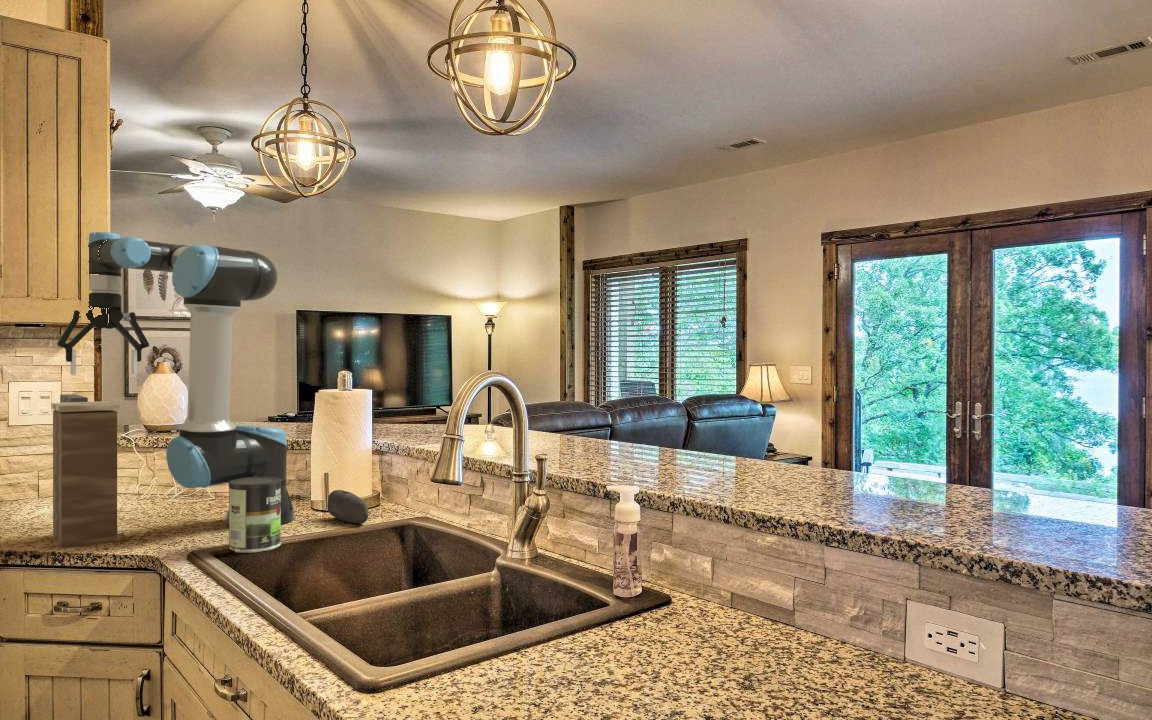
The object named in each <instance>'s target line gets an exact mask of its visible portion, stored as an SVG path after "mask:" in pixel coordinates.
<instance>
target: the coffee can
mask: <svg viewBox="0 0 1152 720" xmlns="http://www.w3.org/2000/svg"><path fill="white" fill-rule="evenodd" d="M227 485H228V496H229V497H228V509H229V525H228V546H229V547H231V548H234V549H235V552H234V553H240V554H242V553H243V554H245V553H246V554H247V553H248V554H250V553H262V552H269V551H271V550H275V549H277V548H279V547H280V546H281V545H282V541H281V538H282V537H281V535H282V534H281V532H282V531H281V525H282V524H281V479H280V478H277V477H248V478H240V479H235V480H231V481H229V482H228V483H227ZM229 547H228V548H229Z"/></svg>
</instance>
